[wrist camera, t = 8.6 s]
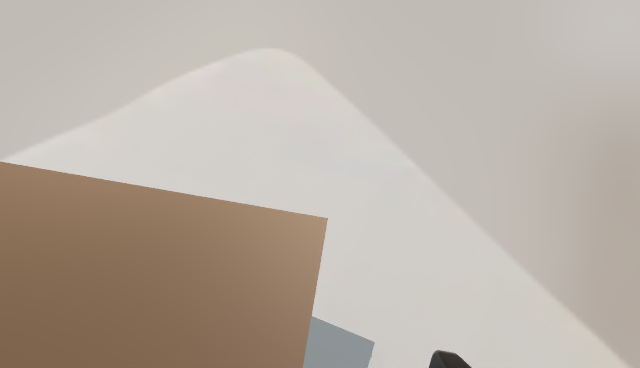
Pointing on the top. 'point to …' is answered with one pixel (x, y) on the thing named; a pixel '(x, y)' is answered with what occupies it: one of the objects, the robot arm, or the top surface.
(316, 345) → the slate coaster
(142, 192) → the walnut pillar
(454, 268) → the top surface
